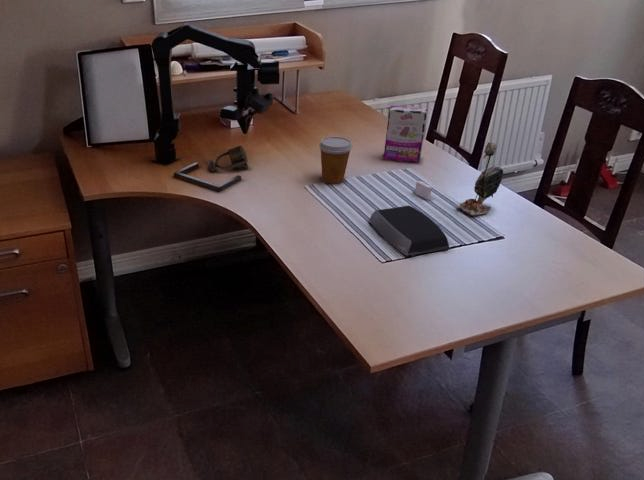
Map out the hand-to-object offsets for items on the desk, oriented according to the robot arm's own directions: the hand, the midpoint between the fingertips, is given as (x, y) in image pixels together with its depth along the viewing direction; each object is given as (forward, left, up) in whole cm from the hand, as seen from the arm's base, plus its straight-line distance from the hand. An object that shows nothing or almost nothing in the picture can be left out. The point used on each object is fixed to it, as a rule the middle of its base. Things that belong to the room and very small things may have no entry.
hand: (245, 133), depth 202 cm
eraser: (+57, +8, -9) cm, 58 cm away
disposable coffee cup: (+31, +3, -9) cm, 33 cm away
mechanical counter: (0, -8, -9) cm, 12 cm away
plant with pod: (+72, +9, -9) cm, 73 cm away
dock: (0, -19, -9) cm, 21 cm away
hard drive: (+64, -16, -9) cm, 67 cm away
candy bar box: (+40, +30, -9) cm, 51 cm away
